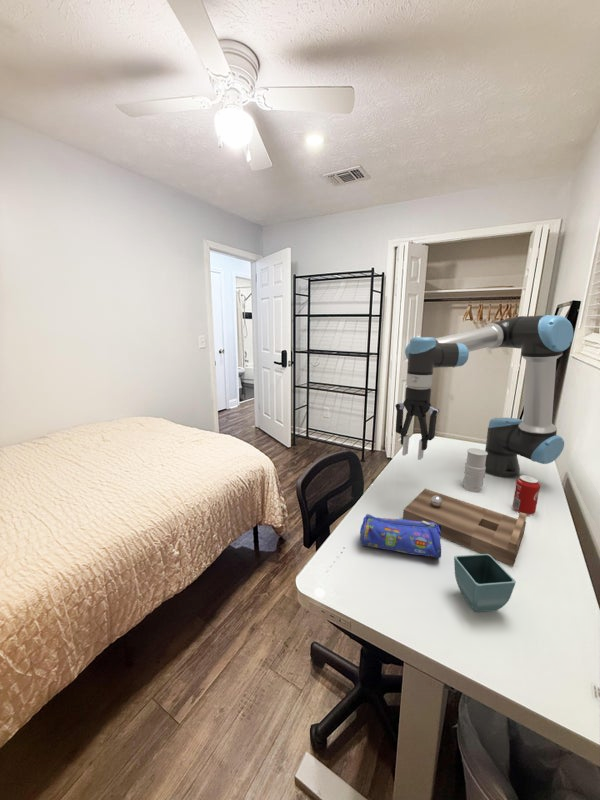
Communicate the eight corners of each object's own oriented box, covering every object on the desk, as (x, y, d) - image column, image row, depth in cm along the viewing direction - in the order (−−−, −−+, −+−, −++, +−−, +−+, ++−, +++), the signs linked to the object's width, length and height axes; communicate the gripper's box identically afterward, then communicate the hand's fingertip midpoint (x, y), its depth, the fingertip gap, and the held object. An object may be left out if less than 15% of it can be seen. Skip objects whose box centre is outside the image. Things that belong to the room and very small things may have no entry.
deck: (424, 498, 115) (425, 482, 113) (523, 533, 95) (527, 514, 94) (402, 520, 102) (404, 502, 100) (513, 566, 82) (517, 544, 81)
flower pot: (448, 587, 75) (453, 555, 73) (484, 585, 76) (489, 553, 74) (471, 621, 67) (476, 585, 65) (510, 618, 68) (517, 582, 66)
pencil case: (439, 545, 90) (442, 515, 88) (444, 567, 82) (448, 534, 80) (360, 533, 96) (361, 504, 93) (358, 552, 87) (359, 521, 85)
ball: (432, 501, 105) (433, 492, 104) (443, 505, 103) (444, 495, 102) (428, 506, 102) (429, 496, 102) (439, 510, 100) (440, 500, 99)
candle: (463, 490, 120) (468, 453, 117) (461, 482, 126) (466, 447, 123) (483, 494, 118) (489, 456, 114) (481, 485, 124) (486, 449, 121)
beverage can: (538, 518, 103) (545, 484, 100) (517, 515, 104) (522, 482, 102) (529, 507, 109) (534, 475, 106) (508, 505, 110) (514, 473, 108)
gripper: (387, 385, 103) (382, 452, 108) (443, 392, 92) (435, 467, 97) (397, 382, 108) (392, 446, 114) (451, 388, 97) (443, 460, 102)
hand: (412, 456), depth 105 cm, fingers open, 4 cm apart
